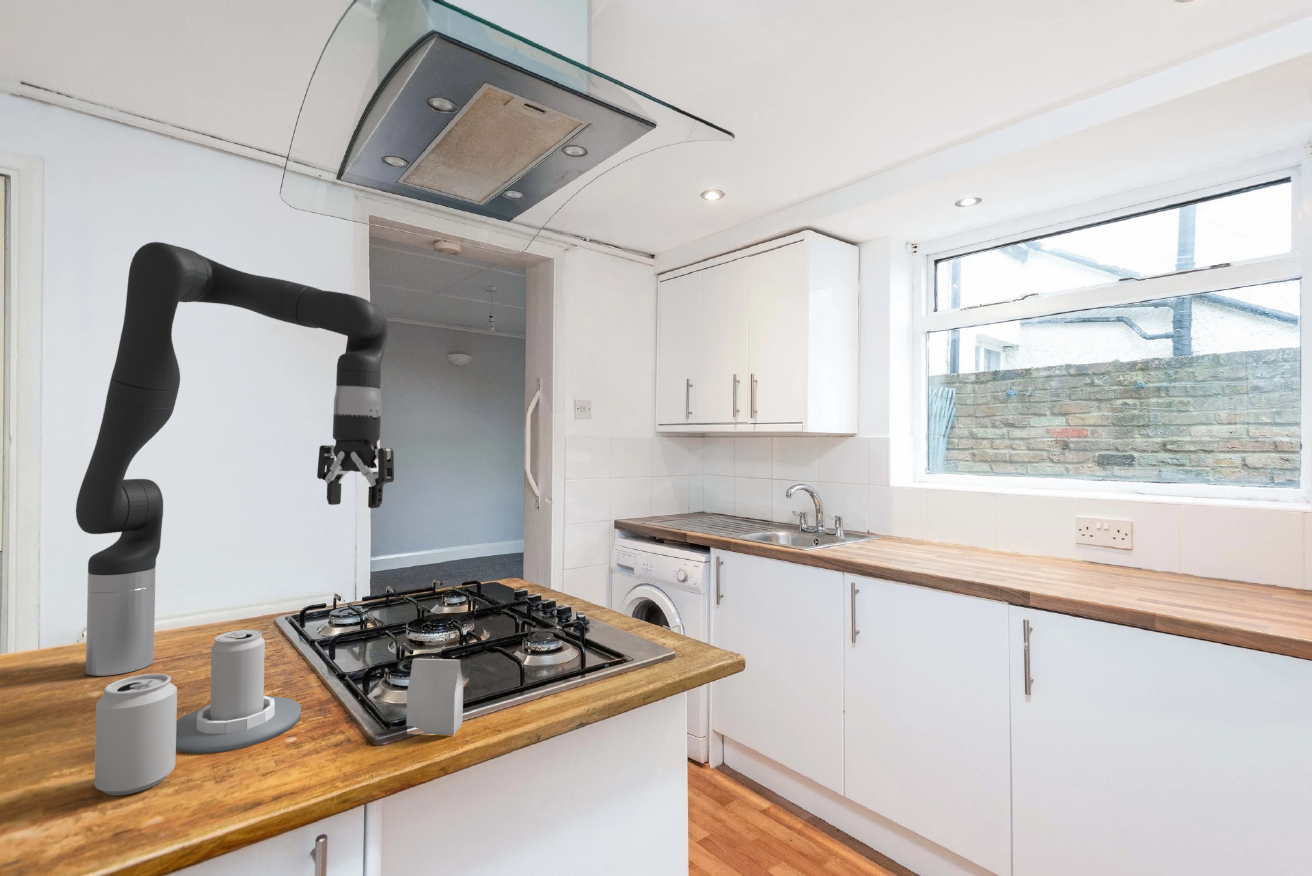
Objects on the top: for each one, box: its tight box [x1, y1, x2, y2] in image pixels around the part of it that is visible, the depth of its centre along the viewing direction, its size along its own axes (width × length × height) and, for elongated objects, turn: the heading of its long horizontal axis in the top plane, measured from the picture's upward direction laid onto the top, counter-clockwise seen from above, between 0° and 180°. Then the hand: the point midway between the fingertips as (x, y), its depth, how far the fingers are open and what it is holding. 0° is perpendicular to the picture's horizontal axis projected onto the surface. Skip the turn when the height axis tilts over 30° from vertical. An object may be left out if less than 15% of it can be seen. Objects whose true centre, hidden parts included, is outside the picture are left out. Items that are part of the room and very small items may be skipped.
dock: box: [176, 695, 302, 754], centre depth 91 cm, size 16×16×2 cm
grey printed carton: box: [405, 658, 464, 736], centre depth 91 cm, size 4×7×10 cm, turn 89°
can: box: [93, 673, 178, 796], centre depth 76 cm, size 8×8×12 cm
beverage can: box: [209, 629, 266, 721], centre depth 91 cm, size 6×6×12 cm
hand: (354, 506), depth 111 cm, fingers open, 8 cm apart
